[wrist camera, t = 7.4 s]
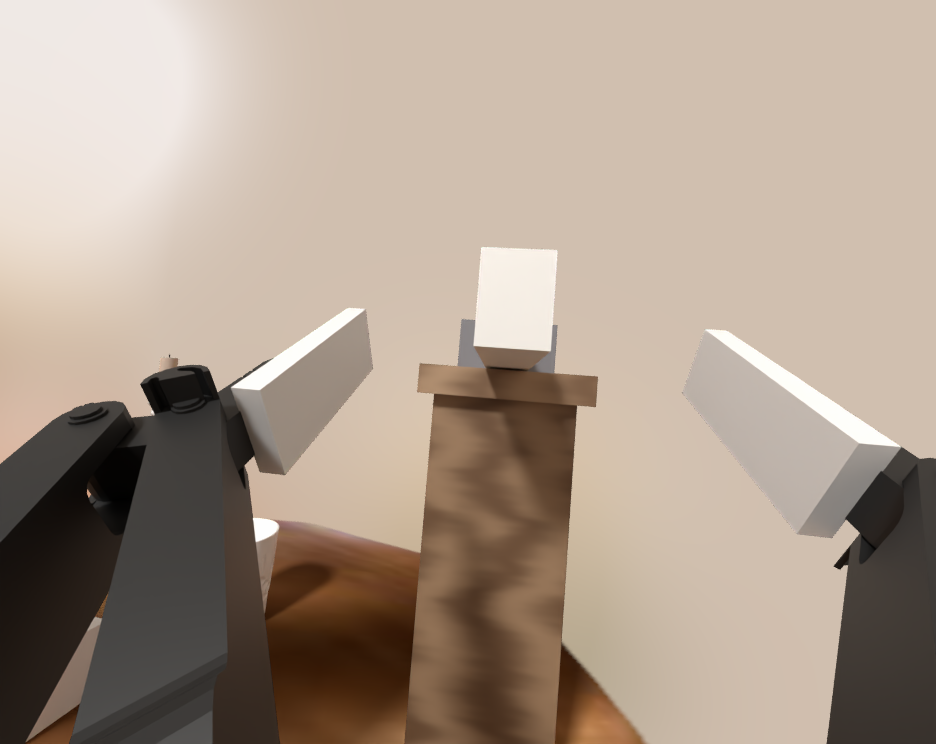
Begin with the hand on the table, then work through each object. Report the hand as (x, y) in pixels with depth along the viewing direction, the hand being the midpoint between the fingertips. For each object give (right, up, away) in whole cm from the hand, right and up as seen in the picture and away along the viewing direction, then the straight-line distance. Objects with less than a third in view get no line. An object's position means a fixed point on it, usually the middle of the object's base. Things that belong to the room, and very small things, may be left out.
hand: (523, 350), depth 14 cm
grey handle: (+1, -1, +13) cm, 13 cm away
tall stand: (-1, -31, +15) cm, 34 cm away
